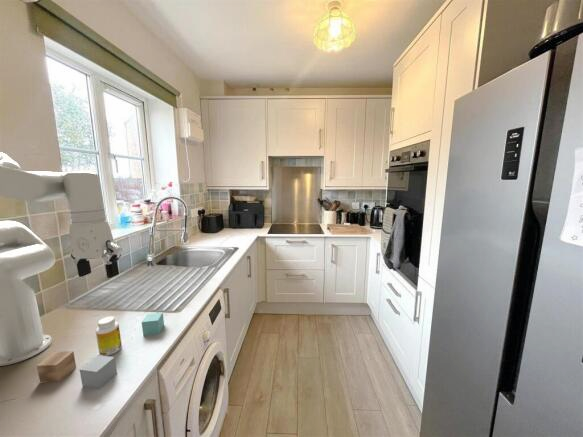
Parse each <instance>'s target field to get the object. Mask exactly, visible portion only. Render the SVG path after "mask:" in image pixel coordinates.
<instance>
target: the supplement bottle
mask: <svg viewBox="0 0 583 437" xmlns="http://www.w3.org/2000/svg"><path fill="white" fill-rule="evenodd" d="M97 324H98V325H97V328H96V329H95V335H96V336H95V337H96V341H97V349H98V353H99V354H98V355H100V356H112V355H114V354H116V353H117V352H119V351H120V350H121V348H122V345H123V344H122V339H121V330H120V324H119V322H117V321H116V319H115V316H113V315H111V316H106V317H103V318H101V319H99V321H98V322H97Z"/></svg>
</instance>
